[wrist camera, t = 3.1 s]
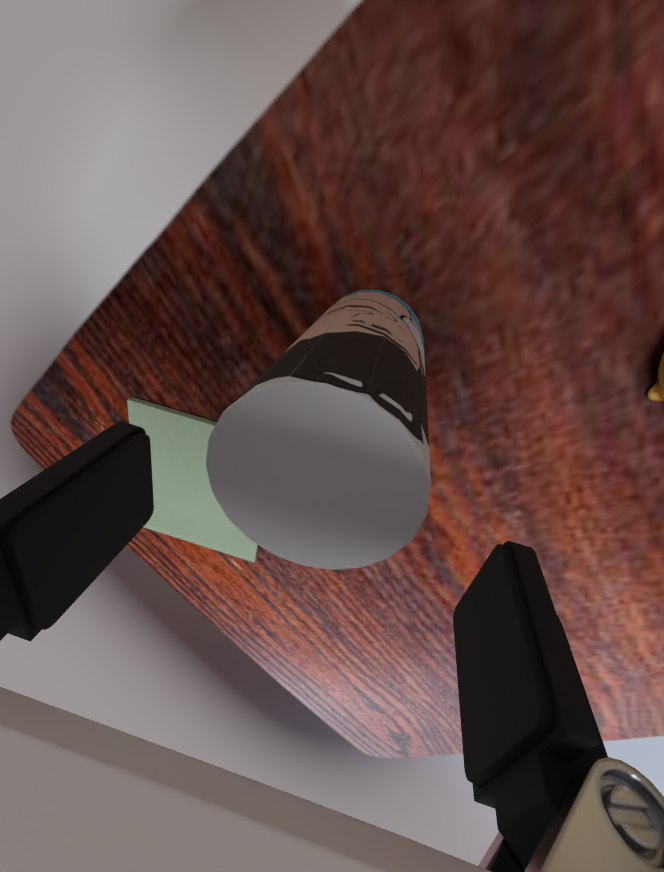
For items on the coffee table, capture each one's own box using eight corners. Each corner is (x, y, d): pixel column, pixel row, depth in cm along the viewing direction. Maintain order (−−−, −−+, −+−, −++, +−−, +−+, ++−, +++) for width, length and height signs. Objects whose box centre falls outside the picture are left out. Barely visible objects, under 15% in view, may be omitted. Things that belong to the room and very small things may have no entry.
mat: (141, 521, 37) (137, 525, 36) (131, 396, 30) (126, 399, 29) (256, 558, 36) (254, 562, 36) (276, 439, 29) (273, 443, 28)
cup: (436, 298, 22) (462, 410, 9) (409, 402, 25) (401, 589, 12) (323, 280, 22) (198, 359, 10) (312, 384, 26) (210, 542, 13)
